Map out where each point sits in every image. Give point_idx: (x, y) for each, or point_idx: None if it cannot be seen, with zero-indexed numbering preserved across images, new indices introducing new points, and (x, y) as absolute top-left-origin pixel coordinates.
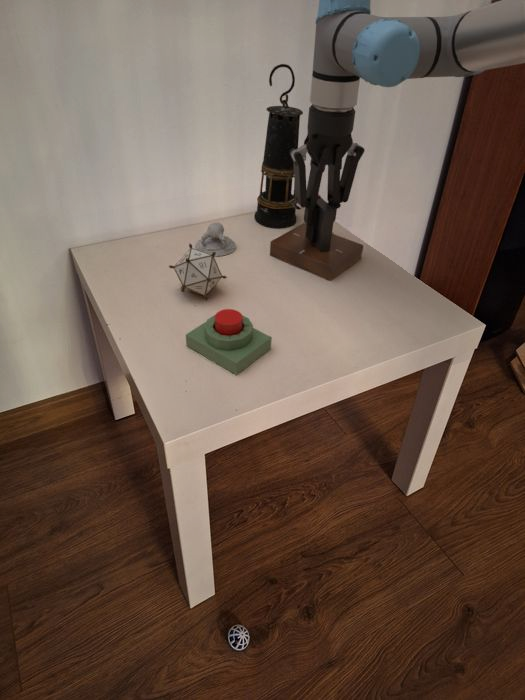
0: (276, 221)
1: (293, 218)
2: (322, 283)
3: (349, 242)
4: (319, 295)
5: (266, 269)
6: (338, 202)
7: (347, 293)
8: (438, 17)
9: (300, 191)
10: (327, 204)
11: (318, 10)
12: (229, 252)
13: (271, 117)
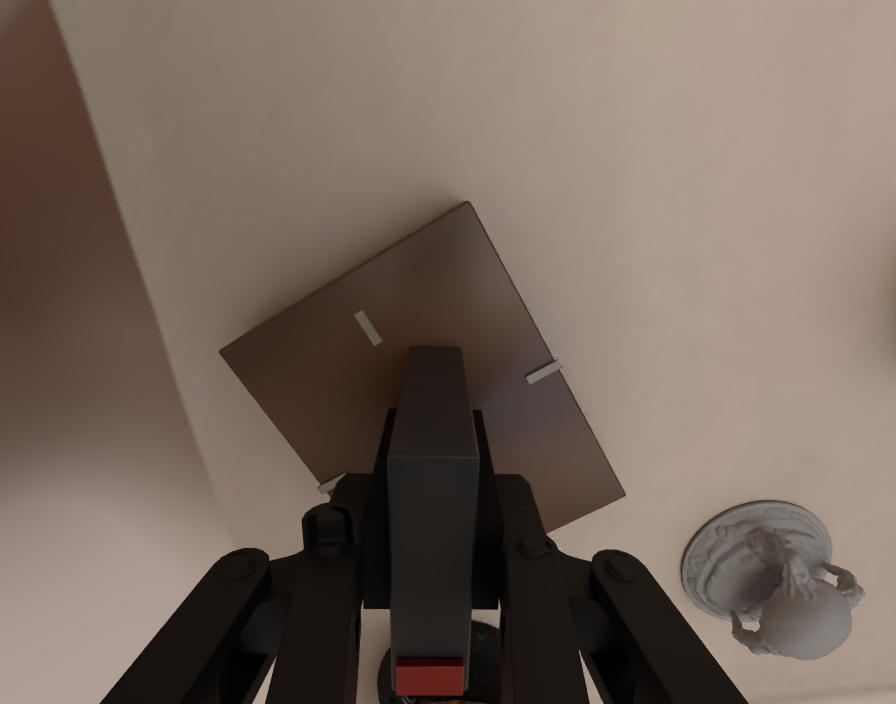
0: (483, 651)
1: None
2: (505, 194)
3: (279, 392)
4: (566, 102)
5: (667, 369)
6: (307, 553)
7: (437, 74)
8: None
9: (726, 677)
10: (401, 553)
11: None
12: (737, 512)
13: None
